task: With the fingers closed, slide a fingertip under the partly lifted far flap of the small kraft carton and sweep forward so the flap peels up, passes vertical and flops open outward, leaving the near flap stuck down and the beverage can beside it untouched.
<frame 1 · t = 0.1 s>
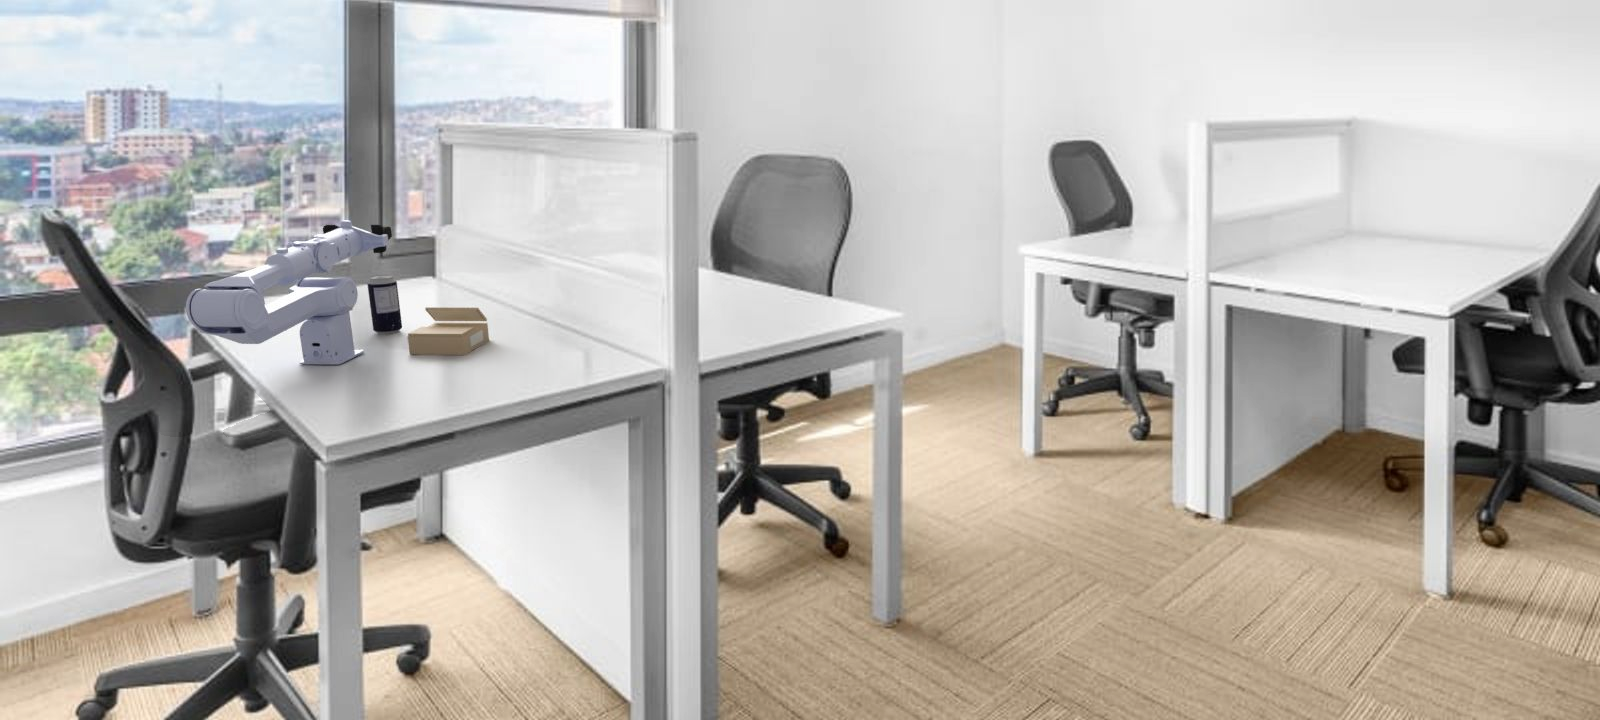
hand: (371, 231, 206), 22 cm above the table, tool horizontal, fingers open, 7 cm apart
carton: (450, 347, 200), on the table
flap: (456, 314, 203), point 6 cm above the table, hinge at 40.0°
beverage can: (388, 333, 214), on the table
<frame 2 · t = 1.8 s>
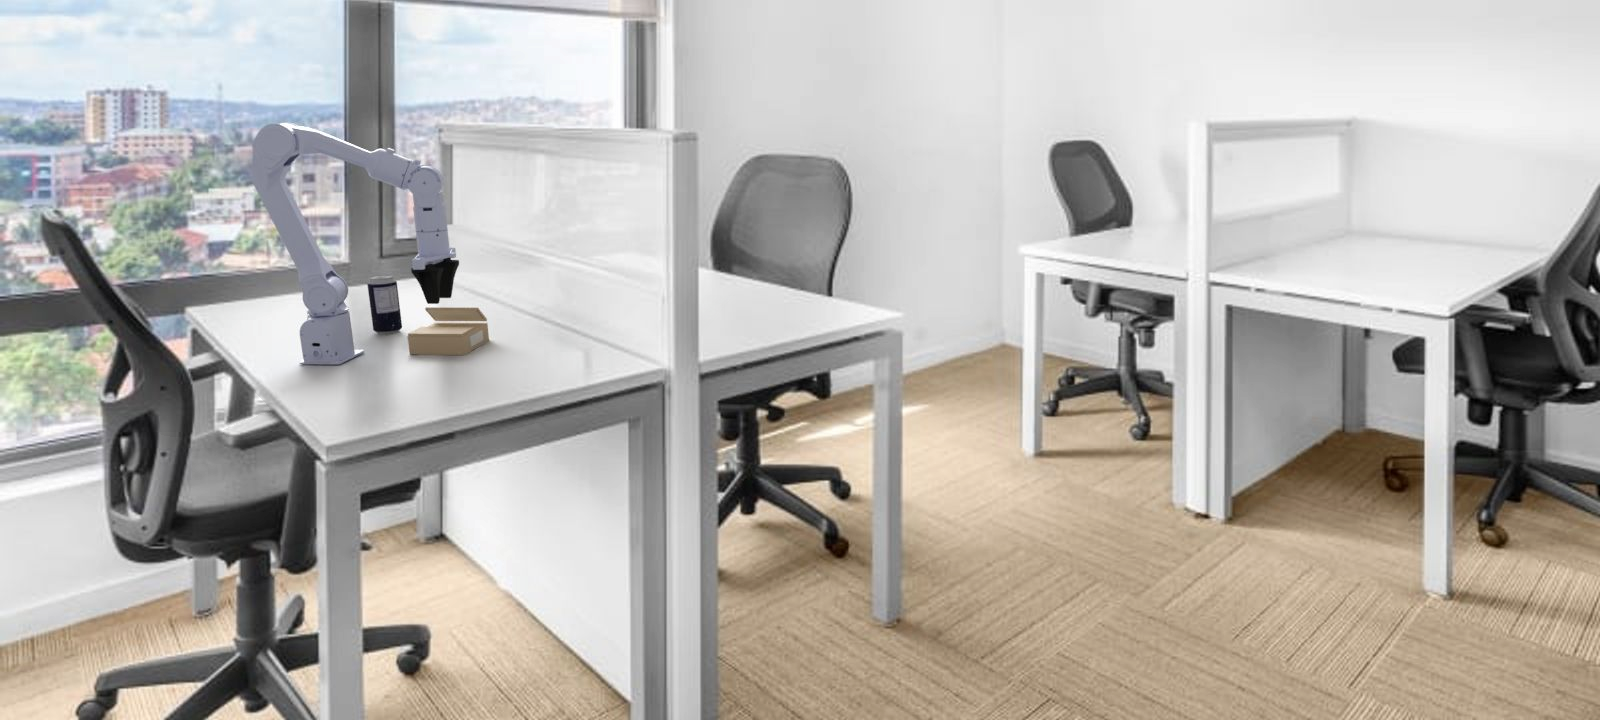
hand: (439, 300, 195), 10 cm above the table, tool pointing down, fingers open, 5 cm apart
nothing on the table moved.
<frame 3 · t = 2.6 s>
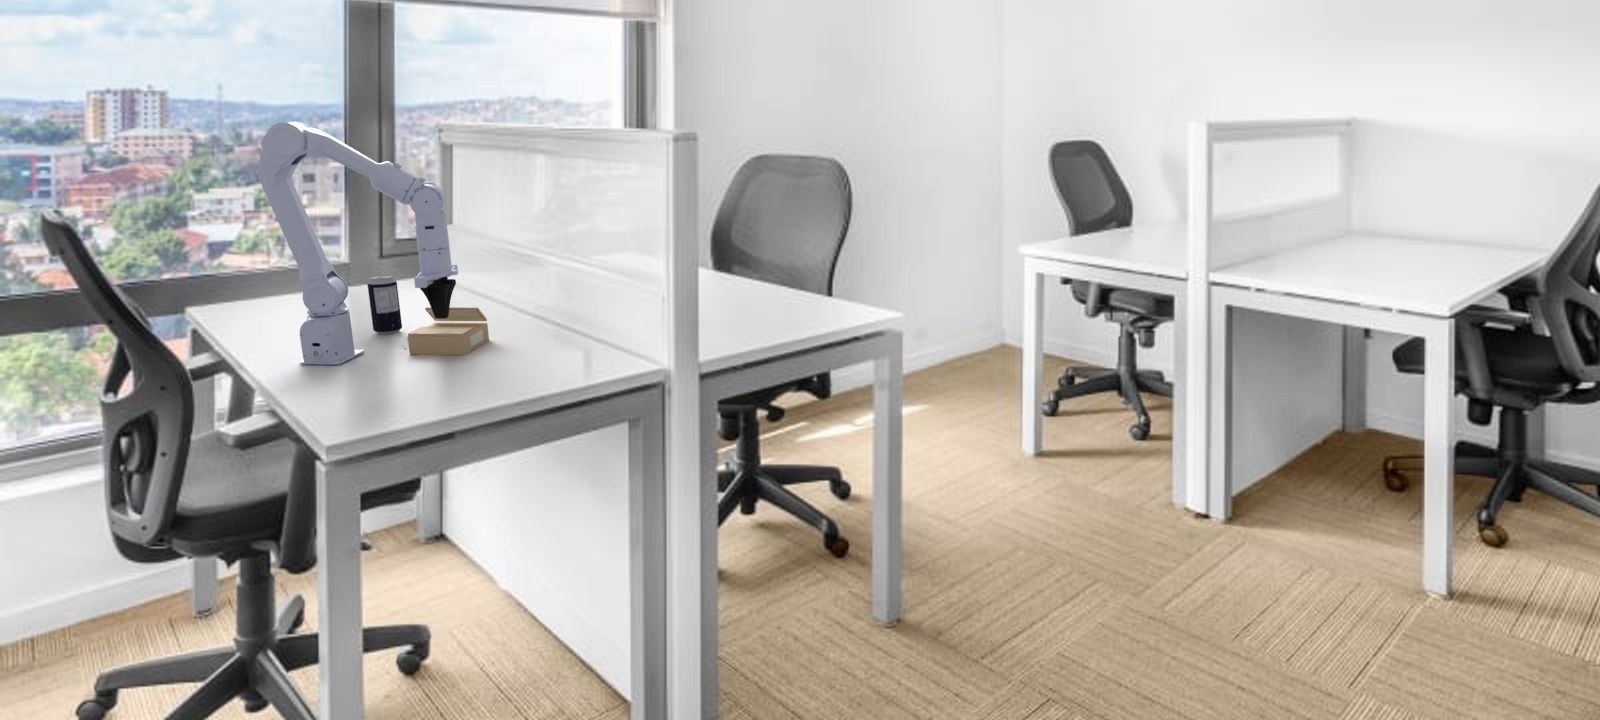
hand: (441, 317, 196), 6 cm above the table, tool pointing down, fingers closed
nothing on the table moved.
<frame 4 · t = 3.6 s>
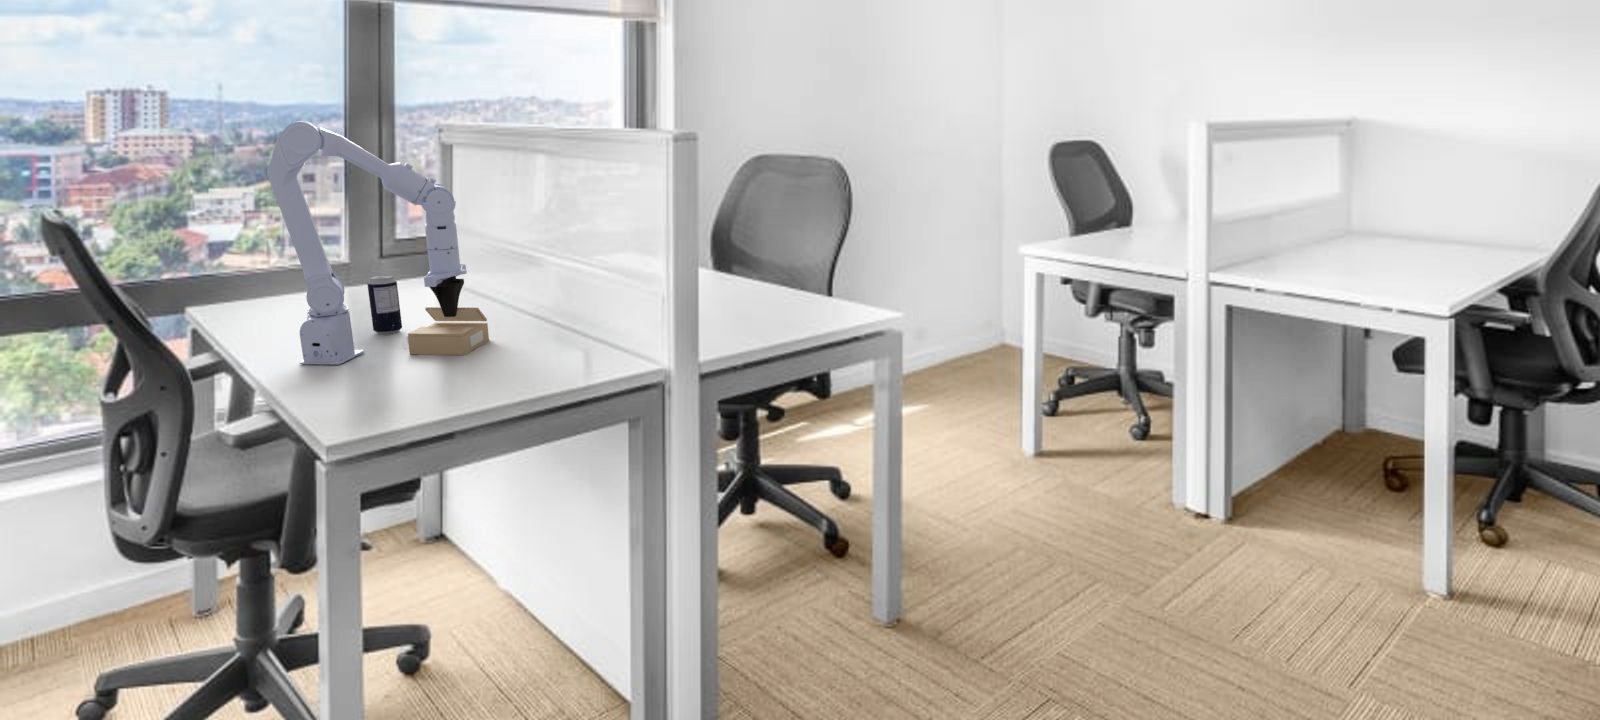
hand: (450, 316, 200), 6 cm above the table, tool pointing down, fingers closed, pressing on flap
flap: (456, 314, 203), point 6 cm above the table, hinge at 40.1°, touching gripper
everything else where it was.
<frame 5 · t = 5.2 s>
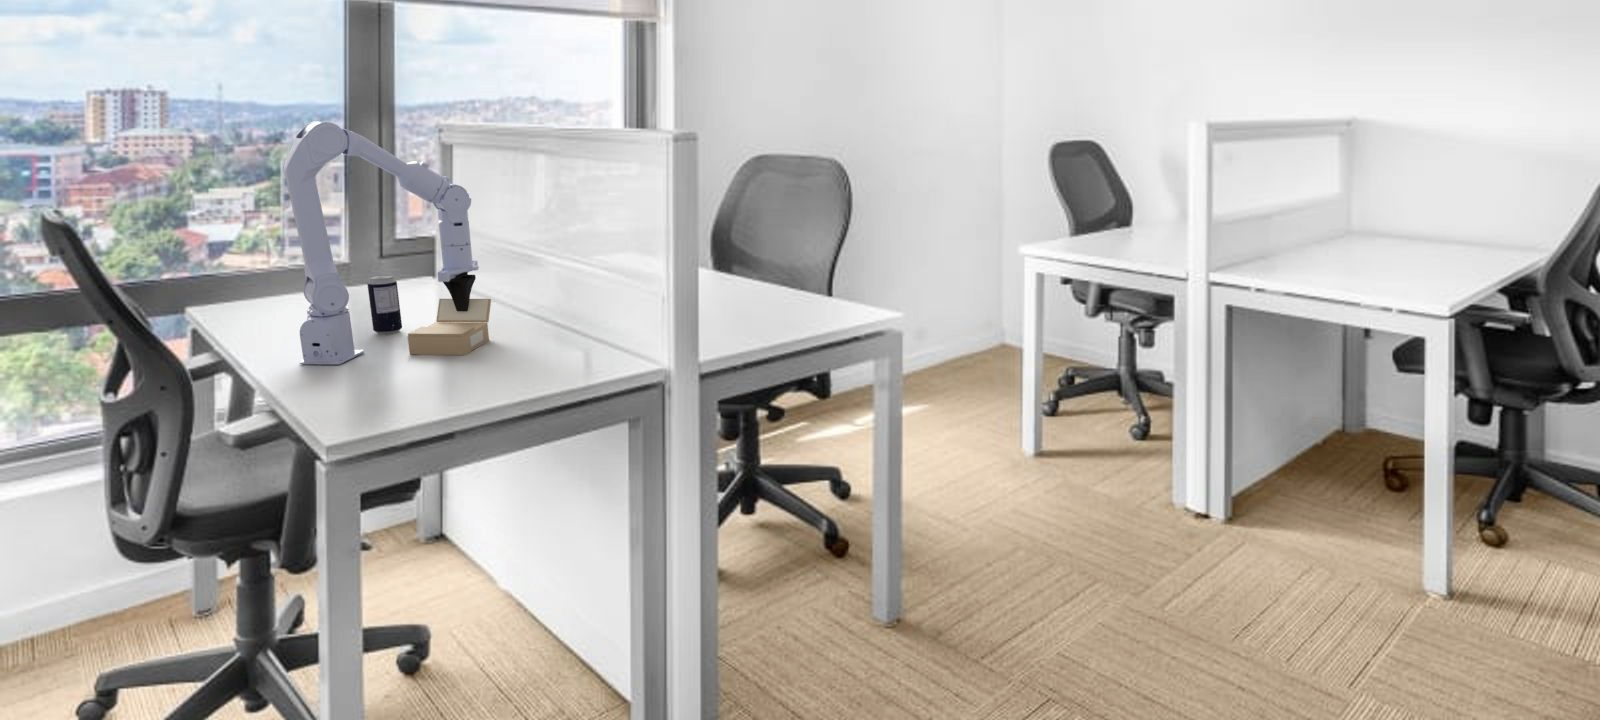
hand: (462, 311, 206), 6 cm above the table, tool pointing down, fingers closed, pressing on flap
flap: (463, 310, 206), point 6 cm above the table, hinge at 120.9°, touching gripper
everything else where it was.
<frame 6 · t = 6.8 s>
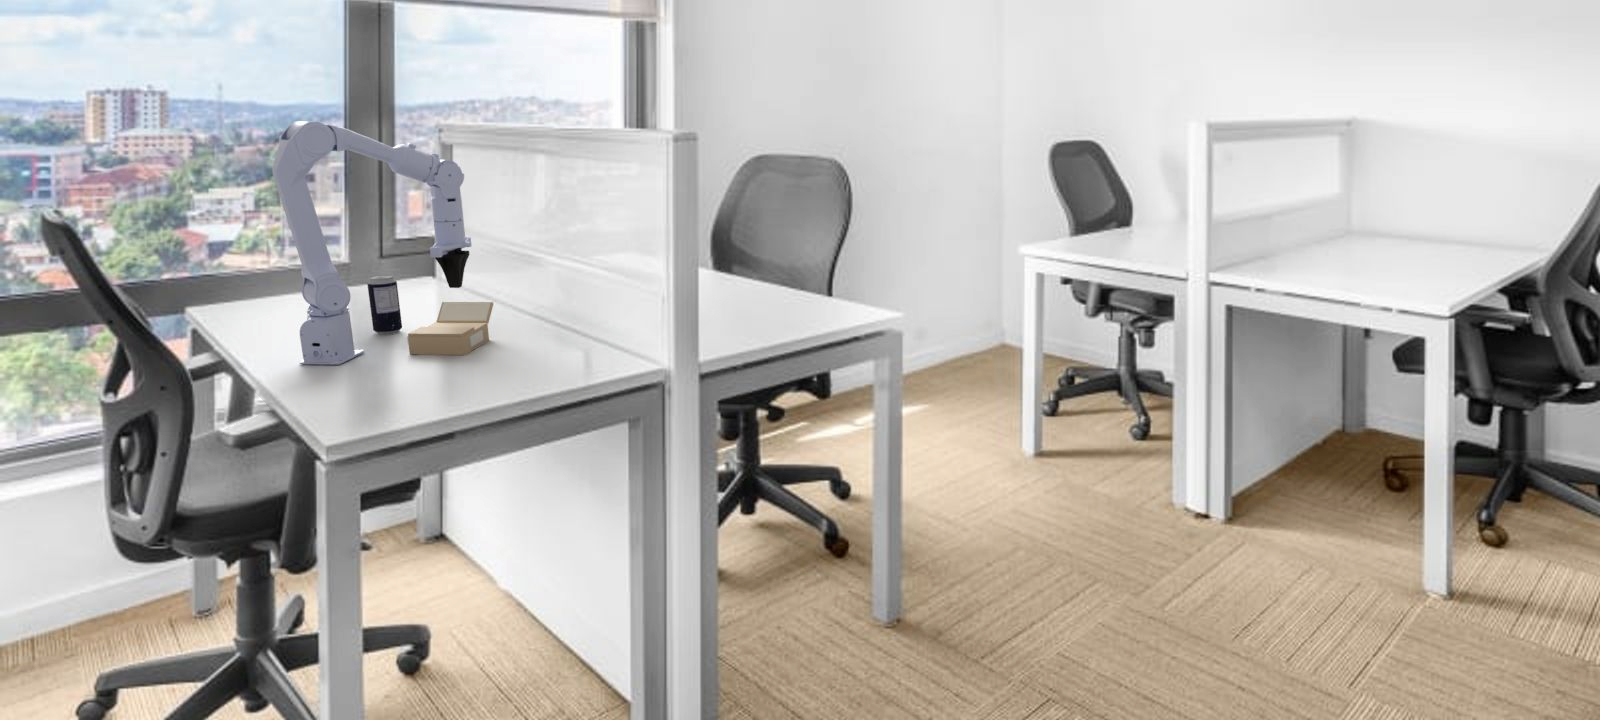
hand: (455, 287, 206), 10 cm above the table, tool pointing down, fingers closed
flap: (465, 312, 207), point 5 cm above the table, hinge at 136.4°
everything else where it was.
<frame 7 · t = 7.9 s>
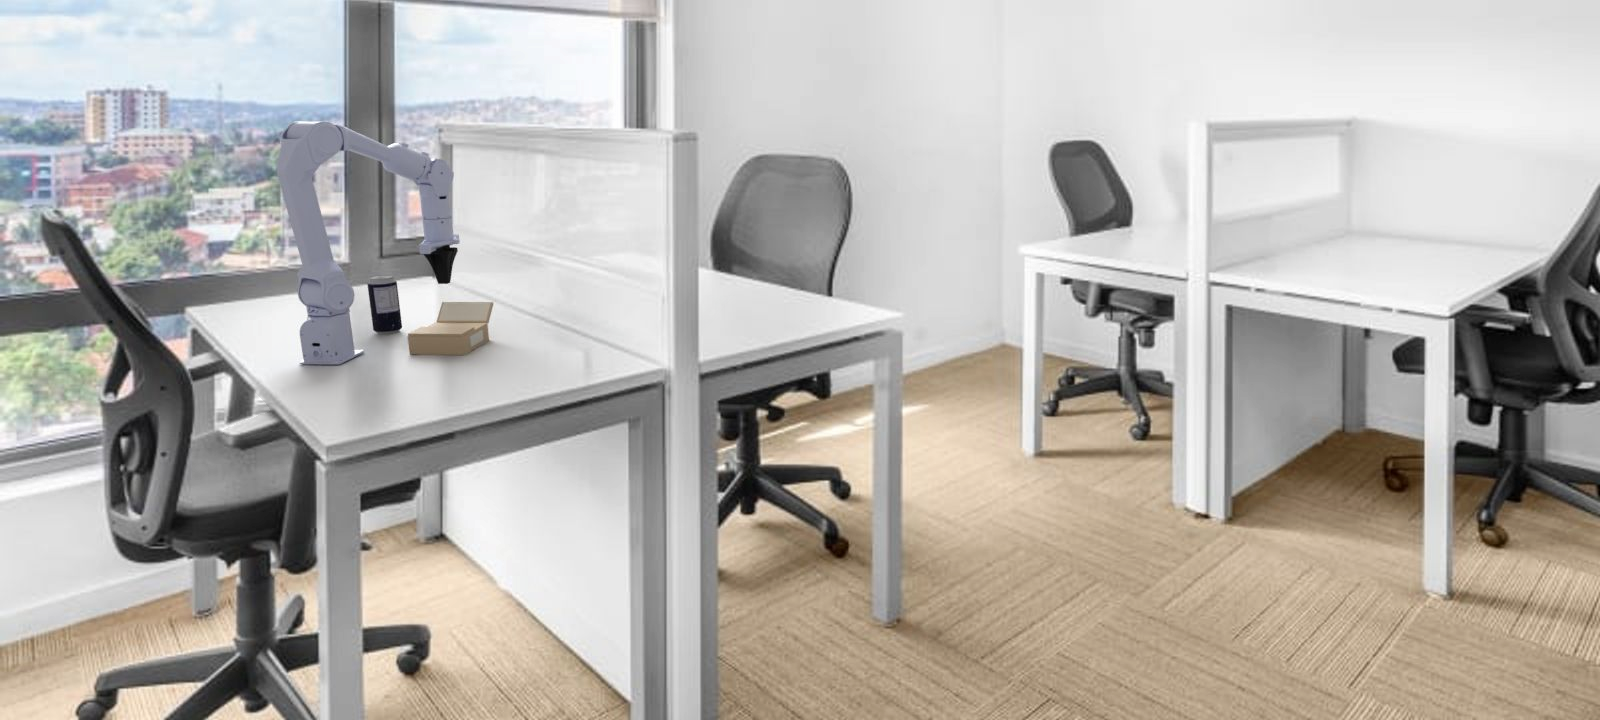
hand: (444, 283, 211), 10 cm above the table, tool pointing down, fingers closed
nothing on the table moved.
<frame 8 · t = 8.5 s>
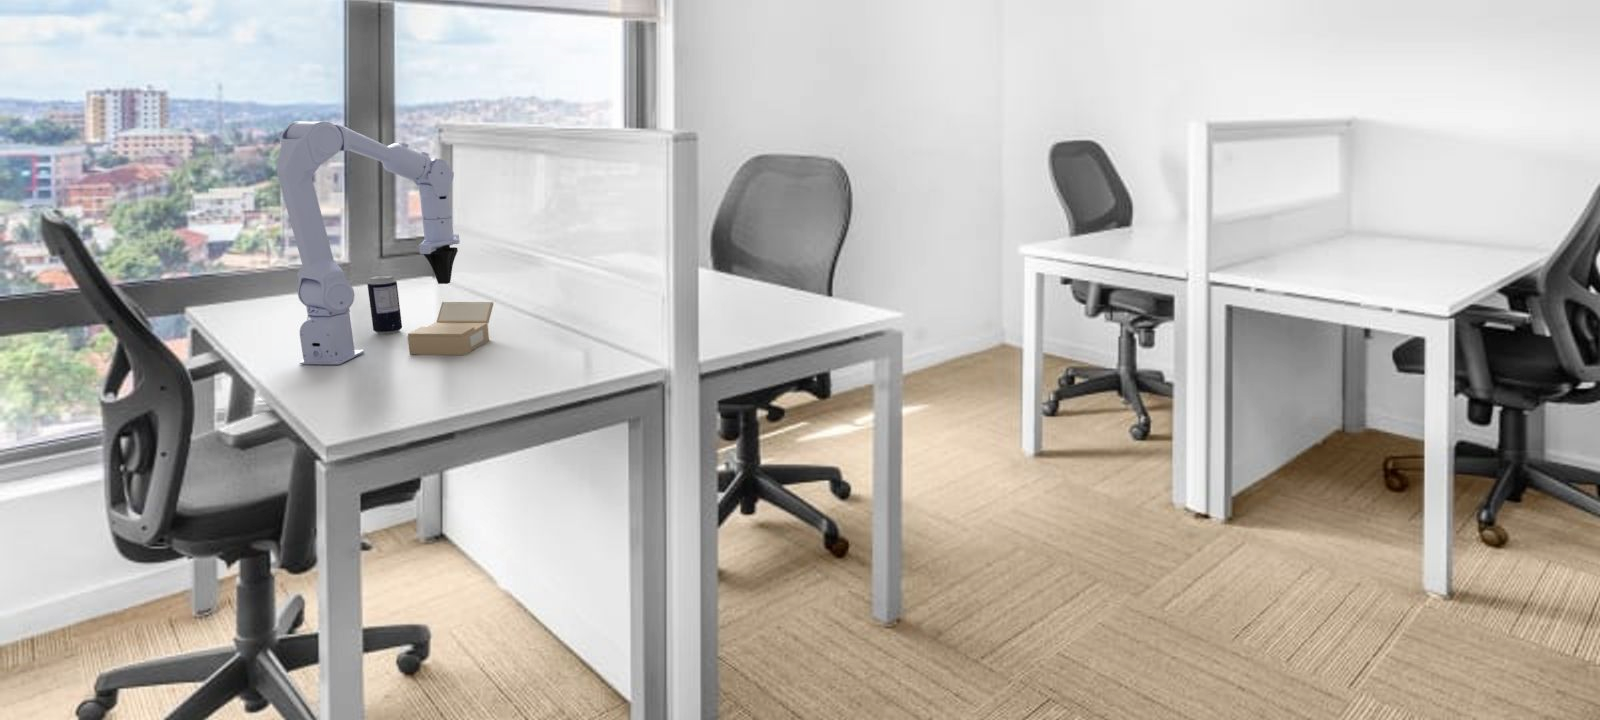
hand: (444, 283, 211), 10 cm above the table, tool pointing down, fingers closed
nothing on the table moved.
at the end: flap at +136° (first picture: +40°); the gripper is holding nothing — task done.
